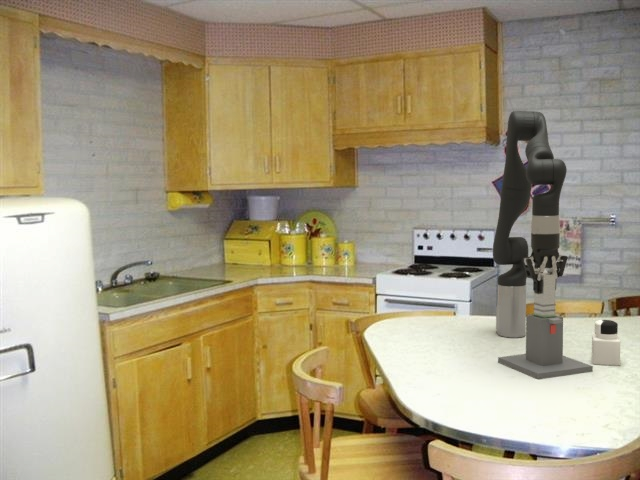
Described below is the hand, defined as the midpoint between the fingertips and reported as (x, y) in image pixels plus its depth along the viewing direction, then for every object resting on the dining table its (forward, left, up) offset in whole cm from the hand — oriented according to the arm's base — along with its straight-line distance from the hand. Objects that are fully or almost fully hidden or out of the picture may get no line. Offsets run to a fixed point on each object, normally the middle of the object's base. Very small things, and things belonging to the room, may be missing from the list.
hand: (544, 292), depth 190 cm
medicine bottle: (+3, +19, -21) cm, 29 cm away
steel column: (0, 0, -13) cm, 13 cm away
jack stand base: (0, 0, -21) cm, 21 cm away
